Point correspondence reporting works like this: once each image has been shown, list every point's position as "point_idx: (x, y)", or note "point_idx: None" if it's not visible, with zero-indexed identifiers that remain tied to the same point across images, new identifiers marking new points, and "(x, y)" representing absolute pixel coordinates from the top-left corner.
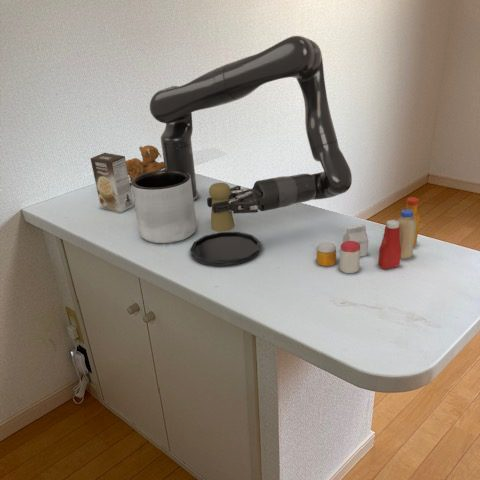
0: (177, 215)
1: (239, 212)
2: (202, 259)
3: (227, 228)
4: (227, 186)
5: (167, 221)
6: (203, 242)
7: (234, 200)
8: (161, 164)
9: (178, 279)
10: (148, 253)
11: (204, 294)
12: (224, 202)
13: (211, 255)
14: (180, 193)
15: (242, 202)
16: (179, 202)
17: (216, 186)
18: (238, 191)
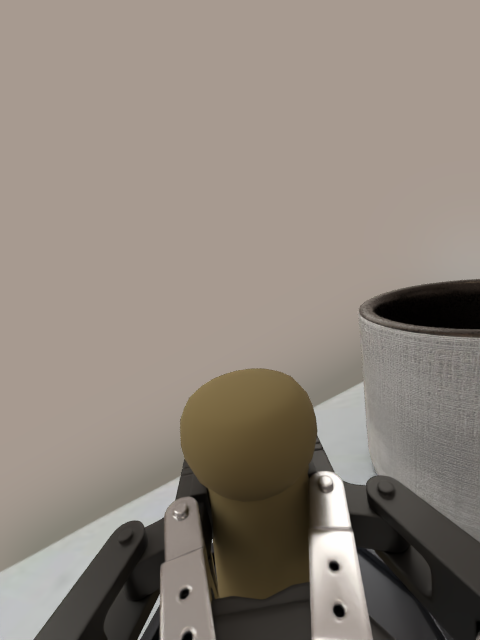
0: (386, 420)
1: (110, 612)
2: (212, 544)
3: None
4: (204, 427)
5: (368, 412)
6: (367, 571)
7: (172, 541)
8: None
9: (171, 490)
10: (326, 436)
11: (61, 541)
12: (192, 482)
13: None
14: (403, 361)
15: (86, 601)
16: (395, 388)
17: (217, 380)
18: (319, 599)
